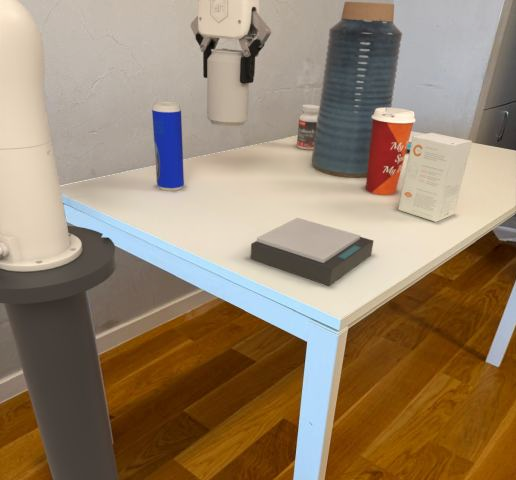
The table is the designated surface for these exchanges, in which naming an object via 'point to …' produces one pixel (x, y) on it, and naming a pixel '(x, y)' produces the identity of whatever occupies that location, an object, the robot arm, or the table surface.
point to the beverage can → (168, 145)
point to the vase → (355, 86)
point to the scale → (311, 250)
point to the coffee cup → (388, 148)
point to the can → (226, 89)
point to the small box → (434, 175)
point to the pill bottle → (307, 127)
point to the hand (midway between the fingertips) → (228, 79)
